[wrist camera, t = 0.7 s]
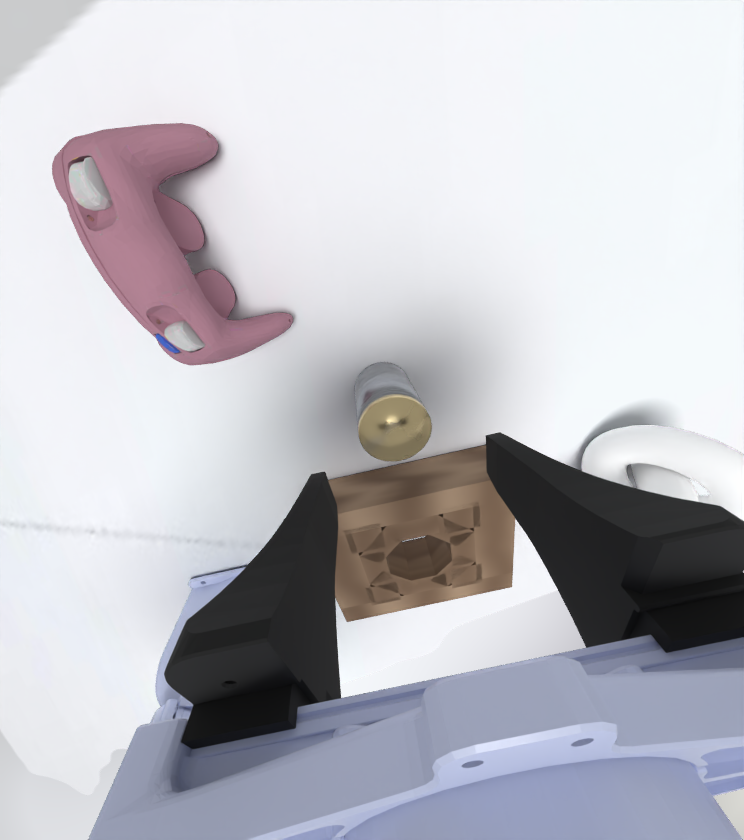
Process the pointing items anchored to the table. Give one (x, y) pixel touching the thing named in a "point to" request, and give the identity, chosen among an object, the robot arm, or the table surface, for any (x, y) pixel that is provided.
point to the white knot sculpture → (670, 464)
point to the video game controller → (155, 238)
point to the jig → (414, 517)
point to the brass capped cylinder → (390, 413)
